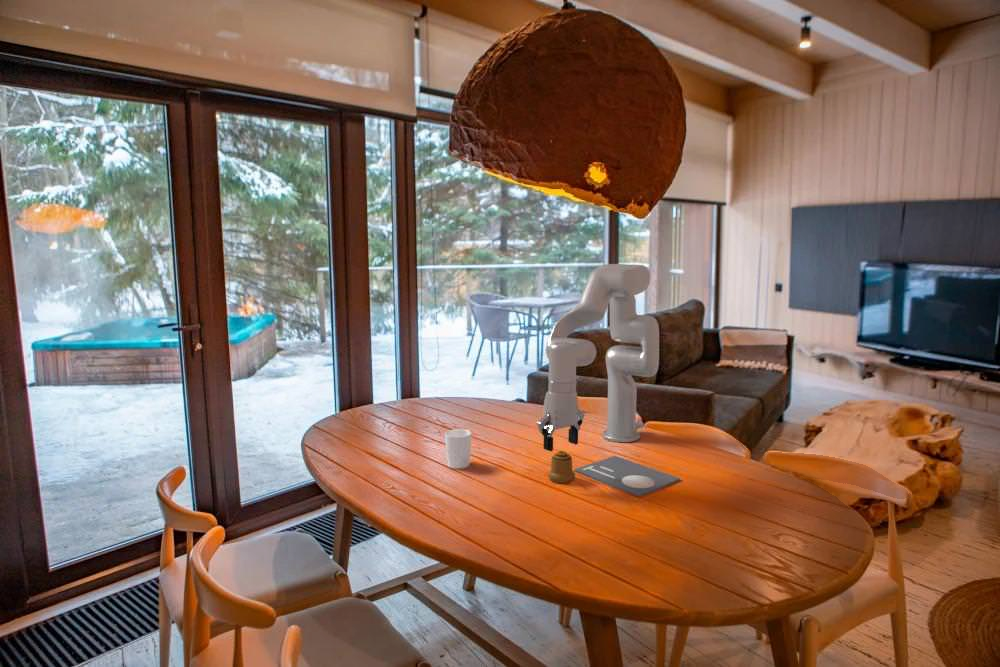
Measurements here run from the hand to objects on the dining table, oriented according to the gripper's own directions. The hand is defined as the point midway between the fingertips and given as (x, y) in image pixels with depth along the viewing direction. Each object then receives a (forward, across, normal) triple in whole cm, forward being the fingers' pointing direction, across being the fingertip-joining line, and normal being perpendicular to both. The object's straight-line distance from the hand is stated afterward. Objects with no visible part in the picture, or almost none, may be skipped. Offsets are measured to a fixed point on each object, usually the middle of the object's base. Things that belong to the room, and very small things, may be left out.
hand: (560, 446), depth 175 cm
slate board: (+10, -17, +10) cm, 22 cm away
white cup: (+10, +15, -28) cm, 34 cm away
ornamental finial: (+10, -1, 0) cm, 10 cm away
